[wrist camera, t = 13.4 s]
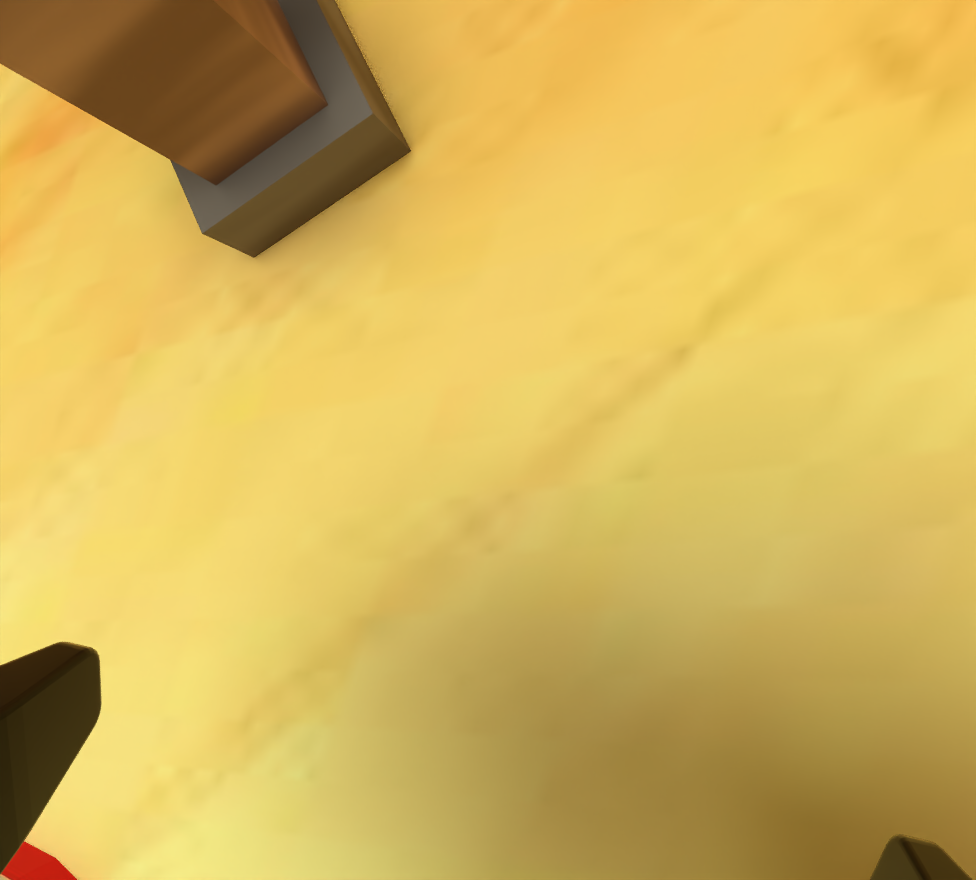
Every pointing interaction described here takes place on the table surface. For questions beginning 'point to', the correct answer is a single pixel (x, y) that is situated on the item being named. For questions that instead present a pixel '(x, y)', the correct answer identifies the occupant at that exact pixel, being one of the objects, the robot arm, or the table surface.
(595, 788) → the table surface
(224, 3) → the wooden post on base
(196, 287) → the table surface
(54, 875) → the kitchen timer
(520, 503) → the table surface
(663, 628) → the table surface
